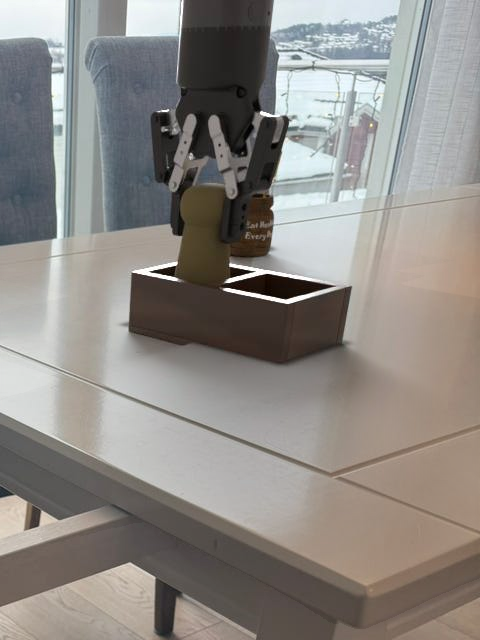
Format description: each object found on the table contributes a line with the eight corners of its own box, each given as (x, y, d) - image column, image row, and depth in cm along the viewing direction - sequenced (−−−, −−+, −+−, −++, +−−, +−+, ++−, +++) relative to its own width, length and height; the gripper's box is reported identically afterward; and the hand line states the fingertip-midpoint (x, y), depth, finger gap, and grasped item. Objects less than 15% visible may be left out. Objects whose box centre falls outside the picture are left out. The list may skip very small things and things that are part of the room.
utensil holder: (214, 252, 125) (224, 151, 119) (251, 246, 127) (262, 148, 121) (244, 259, 121) (256, 155, 114) (281, 253, 123) (295, 152, 117)
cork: (155, 309, 91) (163, 185, 85) (193, 298, 94) (204, 178, 88) (205, 319, 87) (217, 190, 81) (243, 308, 91) (257, 183, 85)
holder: (190, 314, 98) (195, 257, 95) (341, 349, 86) (352, 285, 83) (128, 330, 93) (131, 271, 90) (278, 370, 81) (288, 303, 78)
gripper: (325, 19, 75) (294, 243, 85) (189, 24, 85) (174, 225, 94) (268, 20, 72) (242, 254, 81) (132, 25, 81) (122, 234, 90)
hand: (205, 237), depth 87 cm, fingers closed on cork, 5 cm apart
